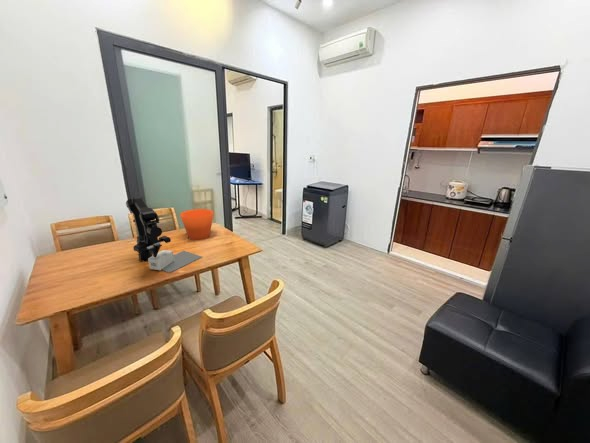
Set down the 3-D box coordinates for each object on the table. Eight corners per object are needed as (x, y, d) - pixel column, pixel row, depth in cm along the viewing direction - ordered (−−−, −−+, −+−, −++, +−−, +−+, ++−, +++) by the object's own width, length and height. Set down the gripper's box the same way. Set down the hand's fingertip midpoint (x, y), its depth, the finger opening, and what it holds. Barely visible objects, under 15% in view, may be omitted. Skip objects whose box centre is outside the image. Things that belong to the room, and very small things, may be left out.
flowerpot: (208, 229, 212) (207, 207, 206) (220, 237, 194) (218, 214, 188) (178, 234, 197) (175, 211, 191) (188, 245, 179) (185, 219, 173)
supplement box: (160, 270, 141) (175, 261, 153) (157, 259, 139) (173, 250, 151) (149, 269, 143) (165, 259, 155) (147, 258, 141) (163, 249, 152)
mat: (184, 251, 168) (184, 250, 168) (202, 257, 160) (202, 256, 160) (150, 265, 148) (150, 264, 148) (169, 273, 140) (169, 272, 140)
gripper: (158, 225, 147) (161, 248, 152) (125, 234, 131) (130, 259, 136) (169, 228, 142) (172, 252, 147) (137, 238, 126) (142, 264, 131)
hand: (155, 256), depth 140 cm, fingers closed
